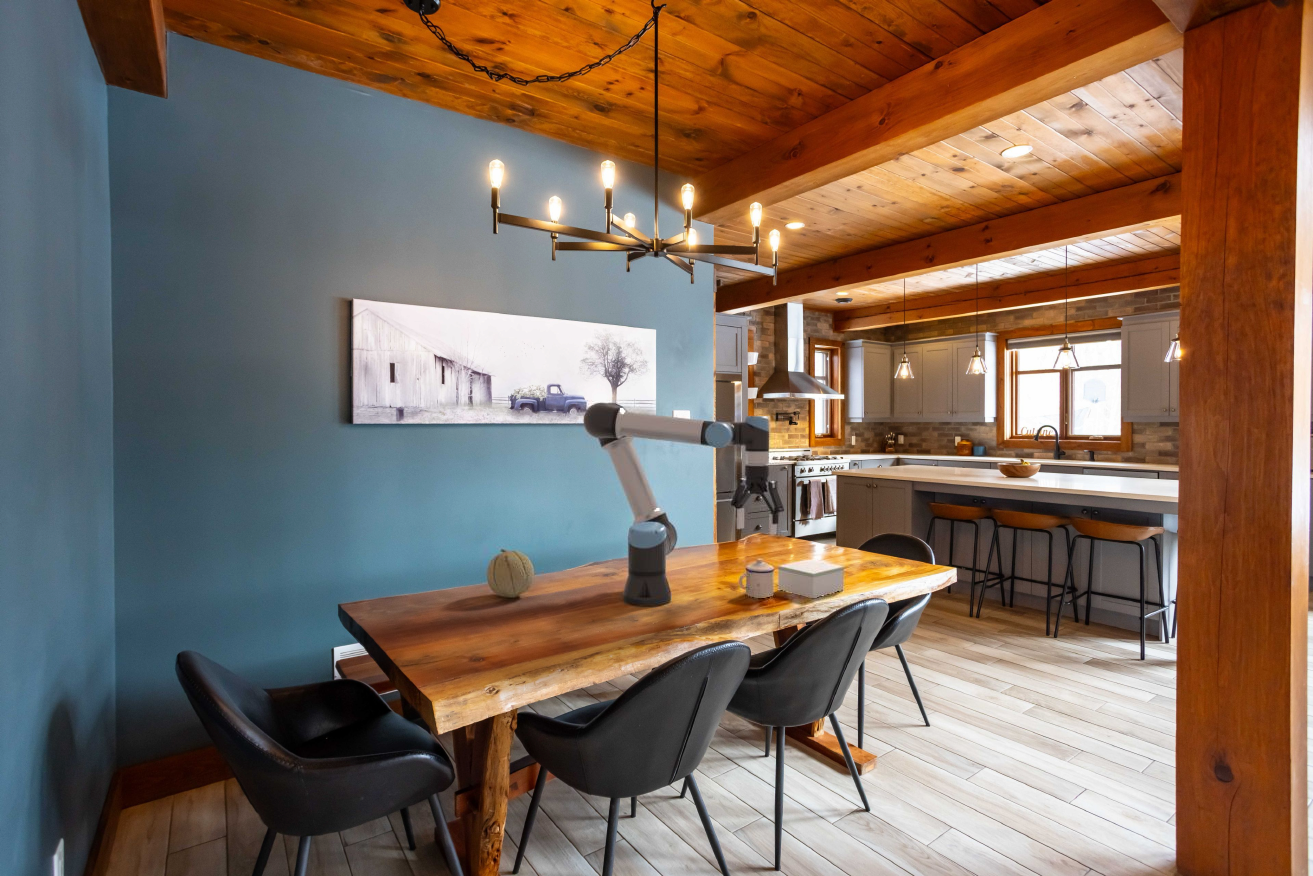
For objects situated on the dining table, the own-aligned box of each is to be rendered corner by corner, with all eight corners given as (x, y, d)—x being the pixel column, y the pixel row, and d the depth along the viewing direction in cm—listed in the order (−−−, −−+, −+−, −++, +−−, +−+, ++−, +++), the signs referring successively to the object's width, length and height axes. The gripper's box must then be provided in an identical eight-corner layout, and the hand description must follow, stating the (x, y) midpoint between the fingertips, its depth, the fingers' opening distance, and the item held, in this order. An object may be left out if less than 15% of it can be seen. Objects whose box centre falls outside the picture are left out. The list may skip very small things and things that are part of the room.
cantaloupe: (529, 603, 202) (529, 554, 201) (481, 603, 202) (481, 554, 201) (538, 590, 217) (538, 545, 216) (493, 590, 216) (492, 544, 216)
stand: (777, 590, 218) (778, 565, 218) (808, 582, 228) (808, 559, 228) (813, 599, 207) (813, 573, 207) (843, 590, 217) (844, 566, 217)
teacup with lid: (763, 590, 218) (764, 555, 217) (779, 597, 209) (780, 560, 209) (732, 594, 213) (732, 558, 212) (746, 601, 204) (747, 564, 204)
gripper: (796, 466, 203) (795, 535, 203) (736, 462, 222) (735, 525, 222) (780, 467, 198) (779, 538, 199) (720, 462, 217) (719, 527, 218)
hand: (756, 531), depth 210 cm, fingers open, 13 cm apart
